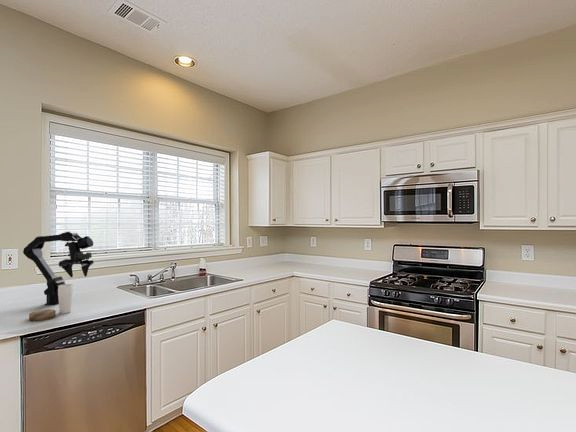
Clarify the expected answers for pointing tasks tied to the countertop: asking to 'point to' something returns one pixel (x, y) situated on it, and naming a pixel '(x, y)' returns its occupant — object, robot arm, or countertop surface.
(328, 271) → the countertop surface
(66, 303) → the drinking glass
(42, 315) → the walnut pedestal
